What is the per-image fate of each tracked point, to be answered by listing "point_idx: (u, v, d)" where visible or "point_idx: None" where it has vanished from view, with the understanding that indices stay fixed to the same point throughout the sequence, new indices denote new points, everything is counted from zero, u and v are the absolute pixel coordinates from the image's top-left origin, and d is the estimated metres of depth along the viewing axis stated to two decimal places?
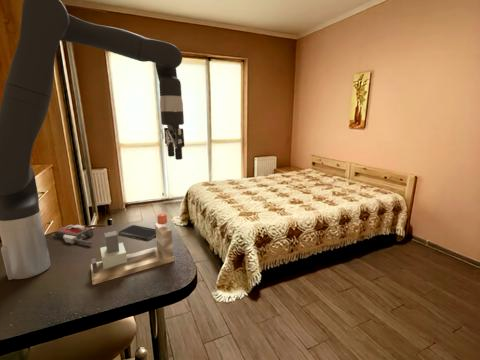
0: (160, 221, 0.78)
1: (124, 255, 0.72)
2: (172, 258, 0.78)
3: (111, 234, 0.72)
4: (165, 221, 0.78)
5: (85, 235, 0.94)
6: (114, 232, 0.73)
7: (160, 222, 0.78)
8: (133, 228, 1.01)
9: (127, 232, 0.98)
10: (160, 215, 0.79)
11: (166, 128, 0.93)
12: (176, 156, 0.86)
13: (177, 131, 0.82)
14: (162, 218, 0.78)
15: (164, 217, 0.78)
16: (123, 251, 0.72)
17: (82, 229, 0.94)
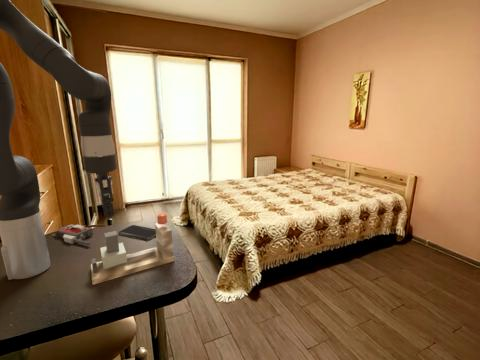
0: (160, 221, 0.78)
1: (124, 255, 0.72)
2: (172, 258, 0.78)
3: (111, 234, 0.72)
4: (165, 221, 0.78)
5: (84, 235, 0.94)
6: (114, 232, 0.73)
7: (160, 222, 0.78)
8: (133, 228, 1.01)
9: (127, 232, 0.98)
10: (160, 215, 0.79)
11: None
12: (105, 213, 0.66)
13: (101, 183, 0.62)
14: (162, 218, 0.78)
15: (164, 217, 0.78)
16: (123, 251, 0.72)
17: (82, 229, 0.94)
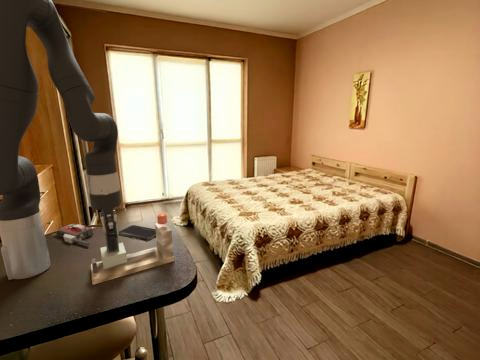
0: (160, 221, 0.78)
1: (124, 255, 0.72)
2: (172, 258, 0.78)
3: None
4: (165, 221, 0.78)
5: (85, 235, 0.95)
6: None
7: (160, 222, 0.78)
8: (133, 228, 1.01)
9: (127, 232, 0.98)
10: (160, 215, 0.79)
11: None
12: (109, 248, 0.70)
13: (107, 227, 0.65)
14: (162, 218, 0.78)
15: (164, 217, 0.78)
16: (123, 251, 0.72)
17: (82, 229, 0.95)
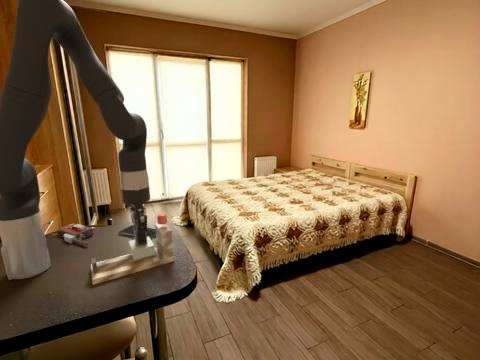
0: (160, 221, 0.78)
1: (152, 248, 0.76)
2: (172, 258, 0.78)
3: None
4: (165, 221, 0.78)
5: (84, 235, 0.95)
6: None
7: (160, 222, 0.78)
8: (132, 228, 1.01)
9: (127, 232, 0.98)
10: (160, 215, 0.79)
11: (131, 204, 0.79)
12: (138, 241, 0.74)
13: (139, 220, 0.69)
14: (162, 218, 0.78)
15: (164, 217, 0.78)
16: (151, 244, 0.76)
17: (82, 229, 0.95)
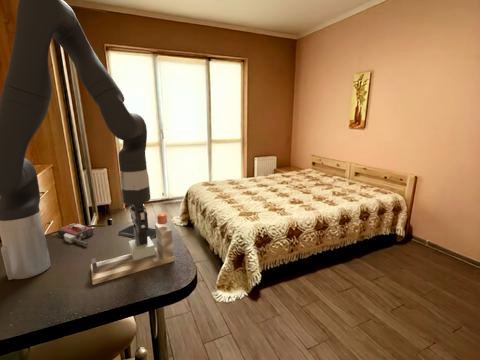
0: (160, 221, 0.78)
1: (152, 248, 0.76)
2: (172, 258, 0.78)
3: None
4: (165, 221, 0.78)
5: (84, 235, 0.95)
6: (143, 226, 0.76)
7: (160, 222, 0.78)
8: (132, 228, 1.01)
9: (127, 232, 0.98)
10: (160, 215, 0.79)
11: None
12: (140, 241, 0.73)
13: (139, 217, 0.68)
14: (162, 218, 0.78)
15: (164, 217, 0.78)
16: (151, 244, 0.76)
17: (82, 229, 0.95)
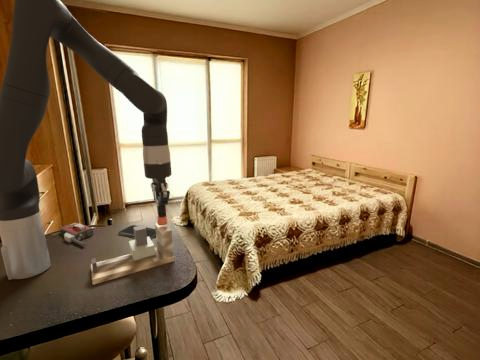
0: (160, 222, 0.78)
1: (152, 248, 0.76)
2: (172, 258, 0.78)
3: (140, 227, 0.76)
4: (165, 222, 0.78)
5: (84, 235, 0.95)
6: (143, 226, 0.76)
7: (160, 223, 0.78)
8: (132, 228, 1.01)
9: (127, 232, 0.98)
10: None
11: None
12: (159, 214, 0.77)
13: (162, 196, 0.72)
14: (162, 219, 0.78)
15: (164, 218, 0.78)
16: (151, 244, 0.76)
17: (81, 229, 0.95)
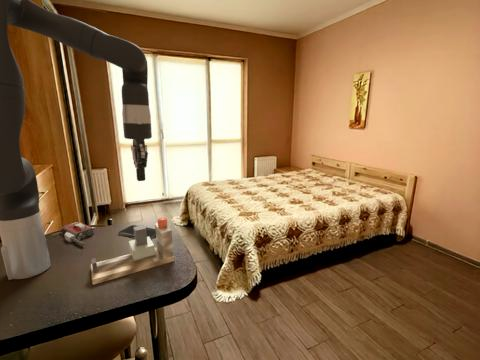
0: (161, 225, 0.78)
1: (152, 248, 0.76)
2: (172, 258, 0.78)
3: (140, 227, 0.76)
4: (165, 225, 0.79)
5: (84, 234, 0.95)
6: (143, 226, 0.76)
7: (160, 226, 0.78)
8: (132, 228, 1.01)
9: (127, 232, 0.98)
10: (160, 219, 0.79)
11: None
12: (138, 177, 0.76)
13: (140, 156, 0.70)
14: (162, 222, 0.78)
15: (164, 221, 0.78)
16: (151, 244, 0.76)
17: (82, 228, 0.95)
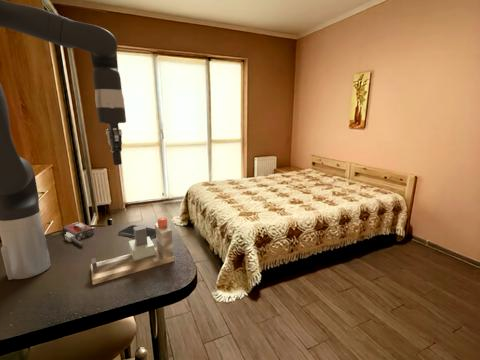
0: (161, 225, 0.78)
1: (152, 248, 0.76)
2: (172, 258, 0.78)
3: (140, 227, 0.76)
4: (165, 225, 0.79)
5: (84, 235, 0.95)
6: (143, 226, 0.76)
7: (160, 226, 0.78)
8: (132, 228, 1.01)
9: (127, 232, 0.98)
10: (160, 219, 0.79)
11: None
12: (114, 161, 0.78)
13: (113, 139, 0.72)
14: (162, 222, 0.78)
15: (164, 221, 0.78)
16: (151, 244, 0.76)
17: (82, 228, 0.95)
